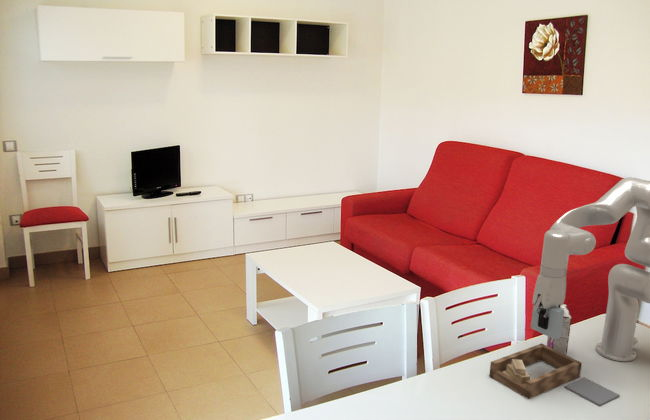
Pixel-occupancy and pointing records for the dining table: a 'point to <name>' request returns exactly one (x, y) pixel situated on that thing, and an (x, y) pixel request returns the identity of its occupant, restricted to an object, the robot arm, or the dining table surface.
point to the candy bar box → (562, 334)
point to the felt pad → (592, 391)
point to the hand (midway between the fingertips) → (546, 325)
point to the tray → (563, 374)
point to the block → (550, 322)
